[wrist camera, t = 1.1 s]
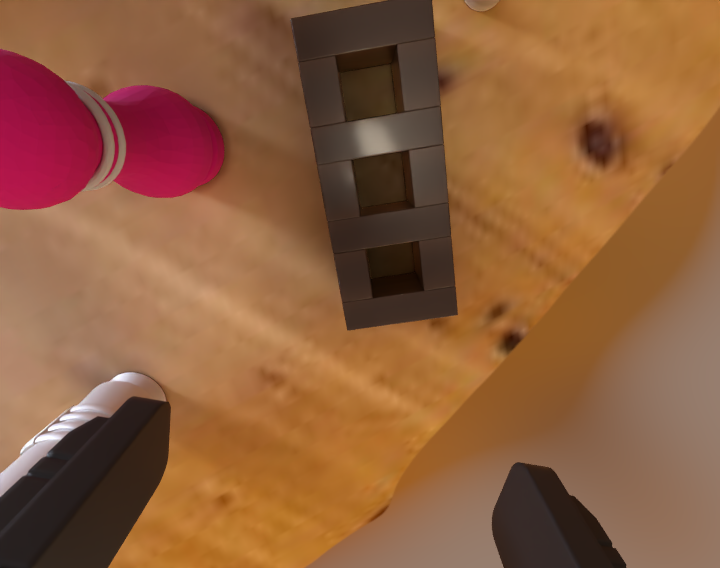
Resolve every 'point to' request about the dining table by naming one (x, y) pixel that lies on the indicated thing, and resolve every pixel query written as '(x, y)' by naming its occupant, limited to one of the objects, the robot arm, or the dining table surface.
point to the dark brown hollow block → (378, 137)
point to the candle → (80, 420)
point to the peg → (481, 4)
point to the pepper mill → (96, 139)
